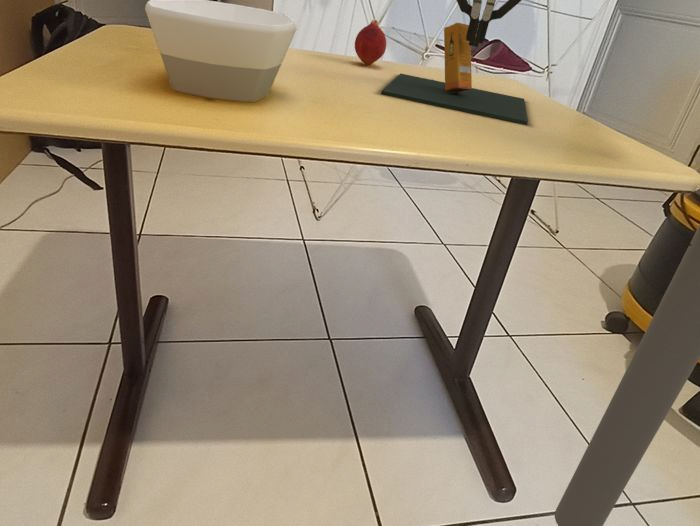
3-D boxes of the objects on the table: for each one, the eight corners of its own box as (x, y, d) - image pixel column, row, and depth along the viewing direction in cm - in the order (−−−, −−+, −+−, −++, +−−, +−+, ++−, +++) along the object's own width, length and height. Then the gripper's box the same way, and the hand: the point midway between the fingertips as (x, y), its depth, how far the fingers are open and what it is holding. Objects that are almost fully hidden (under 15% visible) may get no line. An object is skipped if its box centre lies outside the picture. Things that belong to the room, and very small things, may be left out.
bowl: (127, 93, 64) (124, 4, 59) (169, 65, 79) (169, -7, 75) (283, 116, 65) (291, 31, 61) (294, 84, 81) (301, 14, 76)
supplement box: (474, 89, 90) (472, 24, 88) (458, 88, 88) (456, 21, 87) (459, 92, 93) (457, 29, 91) (444, 91, 91) (441, 27, 89)
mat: (523, 101, 97) (524, 98, 97) (527, 124, 81) (528, 121, 81) (400, 76, 100) (400, 73, 100) (380, 94, 84) (381, 90, 84)
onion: (380, 70, 102) (388, 23, 98) (349, 65, 102) (356, 17, 98) (384, 66, 107) (391, 21, 103) (354, 60, 107) (361, 15, 103)
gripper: (551, -74, 81) (515, 51, 89) (461, -89, 83) (434, 35, 91) (555, -79, 74) (516, 57, 83) (457, -95, 76) (428, 39, 84)
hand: (473, 45), depth 87 cm, fingers closed
